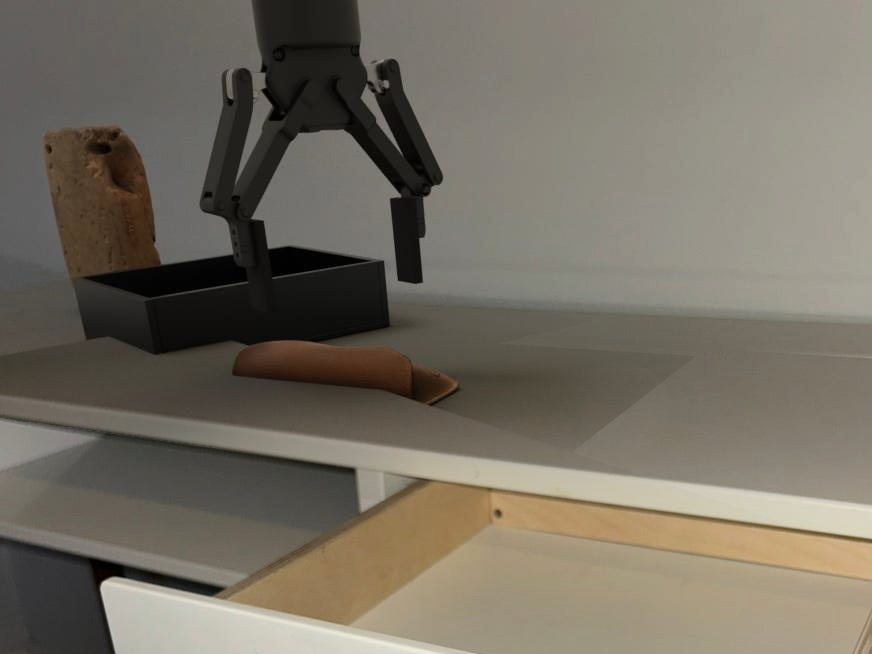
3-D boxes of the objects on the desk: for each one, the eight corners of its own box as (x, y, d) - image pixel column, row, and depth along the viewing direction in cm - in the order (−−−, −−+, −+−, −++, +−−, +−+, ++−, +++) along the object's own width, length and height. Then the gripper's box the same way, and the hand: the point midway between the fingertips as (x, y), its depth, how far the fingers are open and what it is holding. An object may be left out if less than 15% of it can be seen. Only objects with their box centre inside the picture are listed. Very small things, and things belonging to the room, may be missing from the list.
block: (70, 314, 128) (28, 129, 118) (118, 302, 133) (81, 124, 124) (134, 319, 123) (95, 126, 113) (181, 306, 128) (147, 122, 119)
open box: (158, 373, 99) (144, 300, 96) (86, 342, 113) (71, 277, 110) (390, 326, 112) (384, 260, 109) (299, 303, 126) (291, 244, 123)
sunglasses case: (466, 379, 89) (441, 317, 83) (434, 442, 86) (406, 382, 80) (291, 365, 97) (258, 308, 91) (255, 423, 94) (219, 367, 88)
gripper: (157, -16, 67) (218, 329, 77) (474, -21, 80) (491, 275, 90) (114, -5, 72) (176, 316, 82) (417, -11, 85) (439, 267, 95)
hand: (340, 295), depth 86 cm, fingers open, 13 cm apart
